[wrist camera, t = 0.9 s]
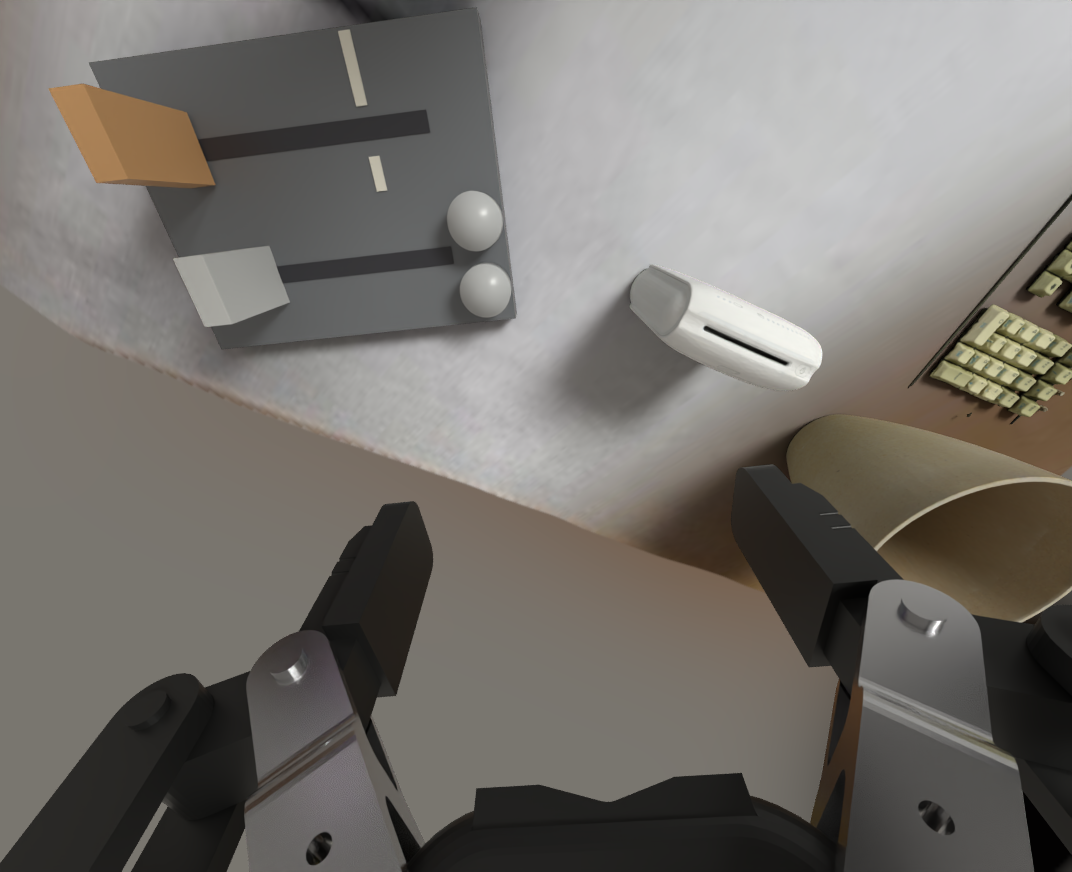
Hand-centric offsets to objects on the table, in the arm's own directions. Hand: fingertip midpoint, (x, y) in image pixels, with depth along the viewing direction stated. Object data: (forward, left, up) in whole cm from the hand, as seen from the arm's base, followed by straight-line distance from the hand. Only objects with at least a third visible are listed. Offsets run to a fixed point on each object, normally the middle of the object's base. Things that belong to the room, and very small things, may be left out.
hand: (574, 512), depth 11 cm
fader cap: (-13, -23, -25) cm, 36 cm away
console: (-9, -15, -27) cm, 32 cm away
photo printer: (+2, +11, -27) cm, 30 cm away
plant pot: (+16, +25, -27) cm, 41 cm away
